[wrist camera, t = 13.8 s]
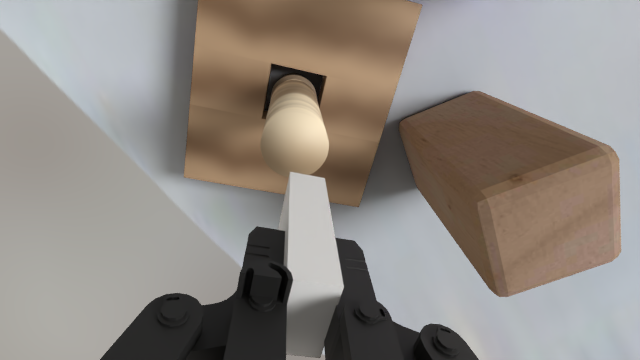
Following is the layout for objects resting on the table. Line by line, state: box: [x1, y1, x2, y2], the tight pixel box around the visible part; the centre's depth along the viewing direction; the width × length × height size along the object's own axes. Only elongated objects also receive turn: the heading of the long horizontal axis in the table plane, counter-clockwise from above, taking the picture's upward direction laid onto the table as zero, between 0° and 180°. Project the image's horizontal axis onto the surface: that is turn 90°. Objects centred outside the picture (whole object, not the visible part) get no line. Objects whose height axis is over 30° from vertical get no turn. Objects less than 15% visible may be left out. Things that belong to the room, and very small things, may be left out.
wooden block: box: [399, 91, 621, 297], centre depth 34 cm, size 10×10×20 cm
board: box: [184, 0, 422, 207], centre depth 38 cm, size 22×20×4 cm
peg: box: [260, 73, 329, 177], centre depth 31 cm, size 5×5×18 cm
